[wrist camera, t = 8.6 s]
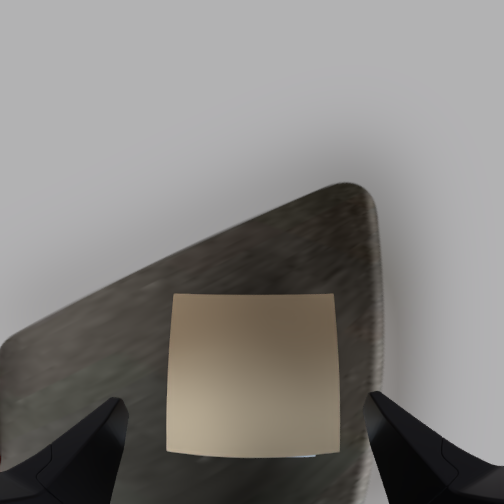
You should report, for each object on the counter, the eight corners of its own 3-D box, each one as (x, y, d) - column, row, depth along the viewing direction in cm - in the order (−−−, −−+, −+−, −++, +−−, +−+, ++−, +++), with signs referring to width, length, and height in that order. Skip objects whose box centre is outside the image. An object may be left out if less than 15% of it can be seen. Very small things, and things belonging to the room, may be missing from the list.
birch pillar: (289, 414, 15) (339, 451, 6) (218, 414, 15) (166, 451, 6) (289, 347, 17) (333, 293, 8) (219, 347, 17) (173, 293, 8)
